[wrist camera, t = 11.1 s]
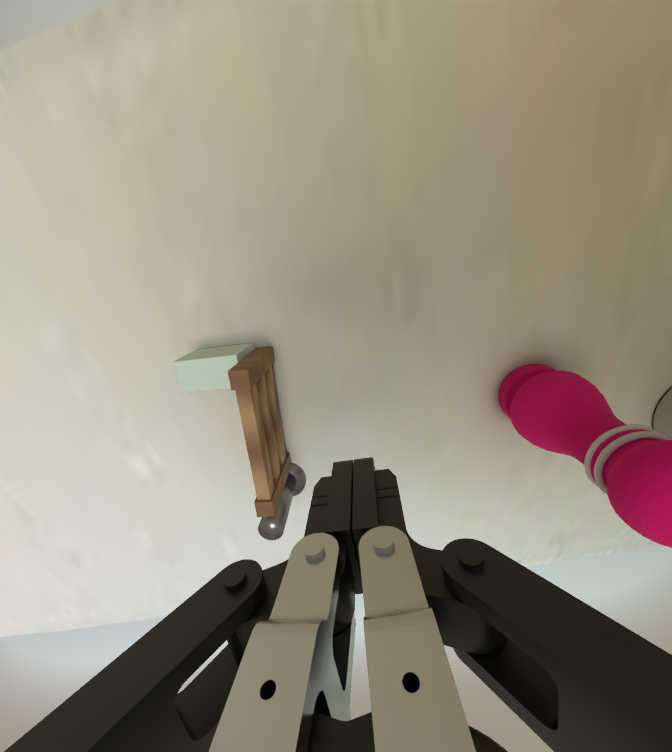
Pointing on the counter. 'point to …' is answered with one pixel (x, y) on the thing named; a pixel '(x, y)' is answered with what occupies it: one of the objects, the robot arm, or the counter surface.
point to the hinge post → (283, 505)
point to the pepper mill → (596, 443)
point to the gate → (261, 427)
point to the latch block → (209, 367)
